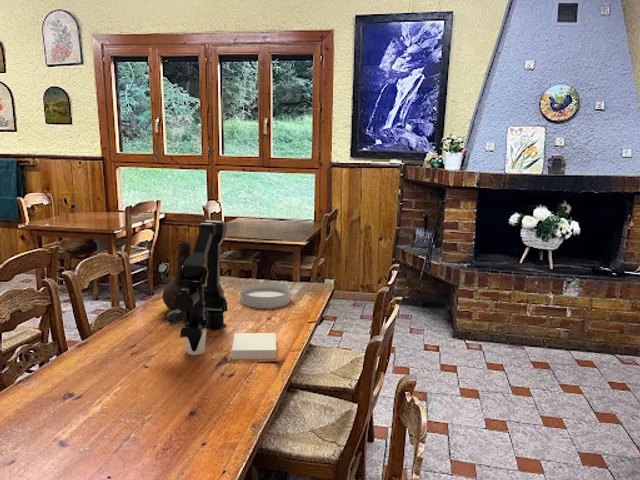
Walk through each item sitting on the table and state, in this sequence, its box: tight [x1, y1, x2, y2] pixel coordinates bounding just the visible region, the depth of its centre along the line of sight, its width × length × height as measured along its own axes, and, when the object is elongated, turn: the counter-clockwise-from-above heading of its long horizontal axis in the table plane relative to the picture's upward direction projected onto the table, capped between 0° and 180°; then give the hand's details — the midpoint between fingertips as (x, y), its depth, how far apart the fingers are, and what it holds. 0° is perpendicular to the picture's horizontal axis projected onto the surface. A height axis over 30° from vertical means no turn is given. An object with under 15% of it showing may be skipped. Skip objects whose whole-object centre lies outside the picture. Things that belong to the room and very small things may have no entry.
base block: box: [231, 332, 277, 360], centre depth 159 cm, size 14×14×3 cm
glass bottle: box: [162, 241, 206, 312], centre depth 192 cm, size 18×18×28 cm
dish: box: [239, 281, 291, 309], centre depth 211 cm, size 22×22×5 cm
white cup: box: [184, 328, 207, 356], centre depth 156 cm, size 7×7×7 cm
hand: (195, 346), depth 157 cm, fingers closed on white cup, 6 cm apart
